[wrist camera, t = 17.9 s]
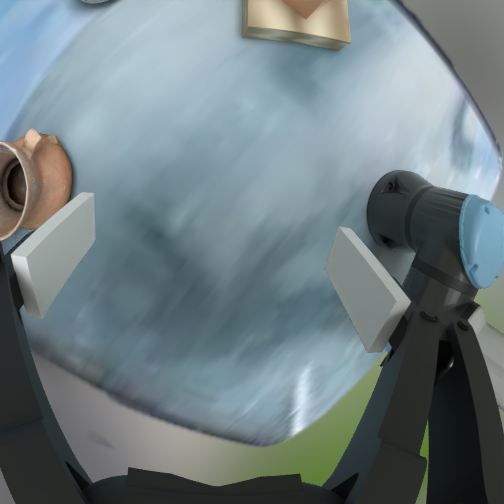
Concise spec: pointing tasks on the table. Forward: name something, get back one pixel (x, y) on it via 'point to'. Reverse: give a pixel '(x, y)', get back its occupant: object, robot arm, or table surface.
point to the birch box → (297, 23)
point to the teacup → (94, 1)
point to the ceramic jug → (32, 182)
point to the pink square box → (306, 6)
